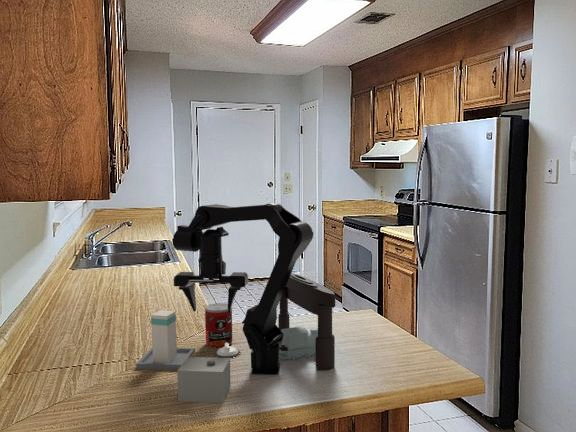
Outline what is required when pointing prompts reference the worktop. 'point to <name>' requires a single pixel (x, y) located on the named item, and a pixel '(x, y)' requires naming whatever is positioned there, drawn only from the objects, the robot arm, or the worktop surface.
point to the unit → (204, 379)
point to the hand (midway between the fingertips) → (212, 311)
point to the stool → (298, 338)
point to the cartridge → (164, 336)
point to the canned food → (218, 325)
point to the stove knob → (227, 352)
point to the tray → (148, 363)
